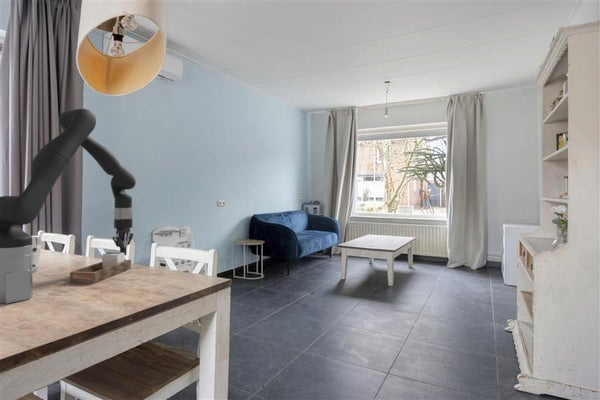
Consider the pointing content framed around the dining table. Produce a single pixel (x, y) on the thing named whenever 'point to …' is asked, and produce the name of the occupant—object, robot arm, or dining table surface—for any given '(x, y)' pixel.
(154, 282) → the dining table surface
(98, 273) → the wooden tray
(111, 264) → the slider block
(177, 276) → the dining table surface
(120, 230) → the robot arm
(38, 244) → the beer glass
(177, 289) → the dining table surface
